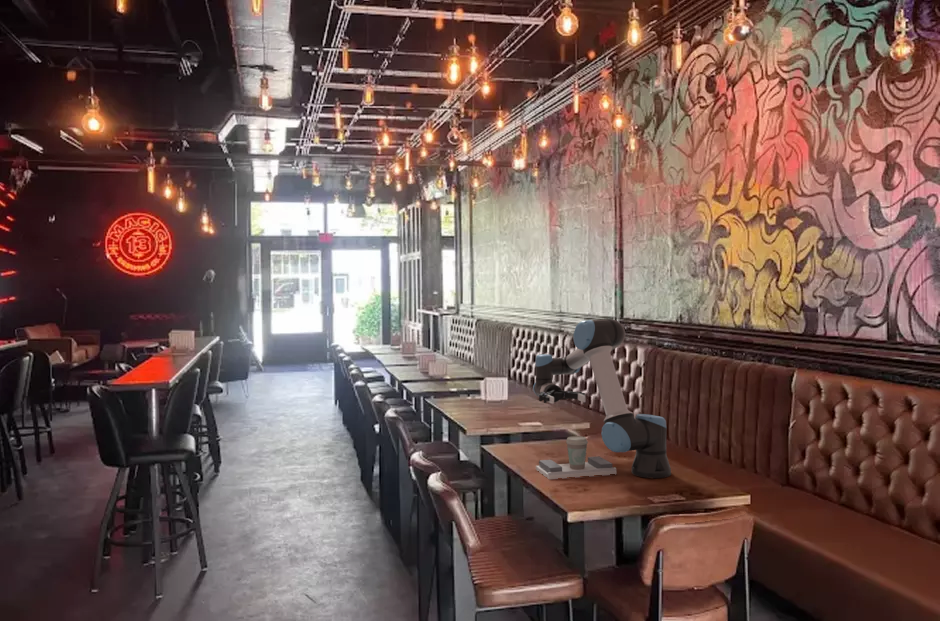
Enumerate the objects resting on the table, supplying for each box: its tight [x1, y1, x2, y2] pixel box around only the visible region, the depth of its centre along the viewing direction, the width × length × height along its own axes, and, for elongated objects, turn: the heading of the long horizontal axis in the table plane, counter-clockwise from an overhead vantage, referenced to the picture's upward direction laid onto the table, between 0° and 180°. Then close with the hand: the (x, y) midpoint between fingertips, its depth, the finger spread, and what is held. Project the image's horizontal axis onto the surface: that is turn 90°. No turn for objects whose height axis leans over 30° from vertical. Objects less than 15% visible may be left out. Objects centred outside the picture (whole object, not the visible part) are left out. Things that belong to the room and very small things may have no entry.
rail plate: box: [535, 455, 617, 480], centre depth 293 cm, size 28×16×4 cm, turn 103°
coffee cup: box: [565, 435, 589, 469], centre depth 293 cm, size 8×9×12 cm
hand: (569, 399), depth 298 cm, fingers open, 13 cm apart
